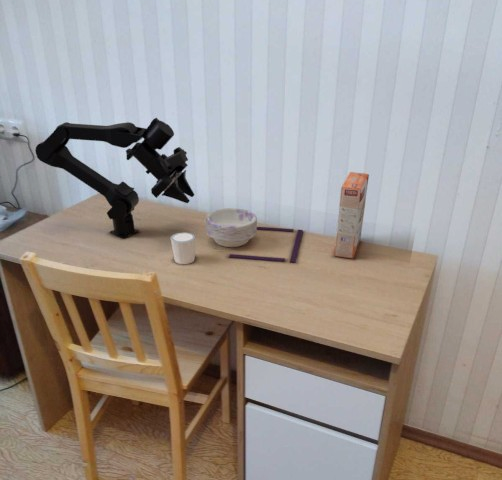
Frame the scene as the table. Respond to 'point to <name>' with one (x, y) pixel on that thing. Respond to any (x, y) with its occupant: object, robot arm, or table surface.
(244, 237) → the paper bowls
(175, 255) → the shot glass
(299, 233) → the frame
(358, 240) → the cracker box
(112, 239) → the table surface
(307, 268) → the table surface
